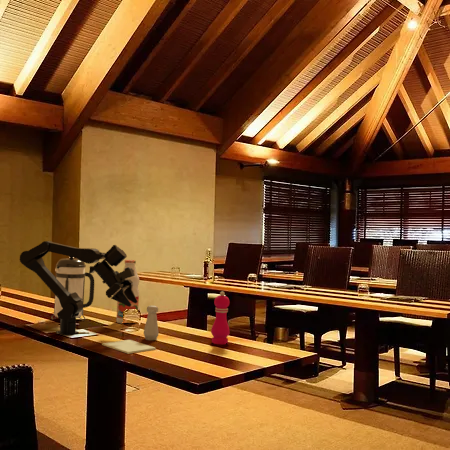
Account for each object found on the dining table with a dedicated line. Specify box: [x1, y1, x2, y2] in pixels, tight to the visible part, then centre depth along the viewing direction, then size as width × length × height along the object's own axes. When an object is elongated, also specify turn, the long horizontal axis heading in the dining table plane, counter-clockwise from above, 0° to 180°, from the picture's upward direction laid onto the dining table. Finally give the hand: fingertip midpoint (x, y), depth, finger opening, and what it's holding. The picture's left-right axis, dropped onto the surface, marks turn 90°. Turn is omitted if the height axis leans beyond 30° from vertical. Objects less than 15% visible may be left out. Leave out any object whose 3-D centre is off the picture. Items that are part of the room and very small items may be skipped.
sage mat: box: [101, 339, 157, 355], centre depth 194 cm, size 16×12×1 cm
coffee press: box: [50, 256, 95, 322], centre depth 243 cm, size 17×16×30 cm
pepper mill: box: [210, 291, 231, 345], centre depth 210 cm, size 7×7×20 cm
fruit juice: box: [116, 259, 140, 325], centre depth 243 cm, size 9×9×28 cm
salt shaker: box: [143, 305, 159, 341], centre depth 210 cm, size 6×6×13 cm
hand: (133, 304), depth 211 cm, fingers open, 9 cm apart
